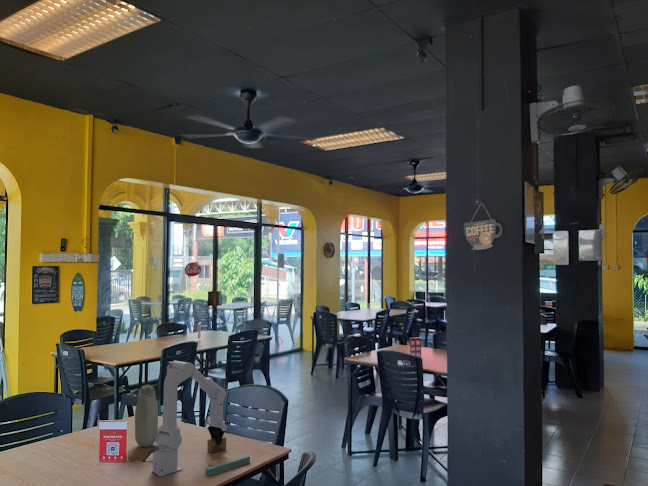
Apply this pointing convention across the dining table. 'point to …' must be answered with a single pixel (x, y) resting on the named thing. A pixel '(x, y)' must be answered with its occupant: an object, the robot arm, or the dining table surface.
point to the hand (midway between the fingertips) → (216, 443)
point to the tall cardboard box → (213, 447)
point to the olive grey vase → (146, 417)
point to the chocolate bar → (150, 454)
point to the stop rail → (227, 465)
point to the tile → (217, 462)
